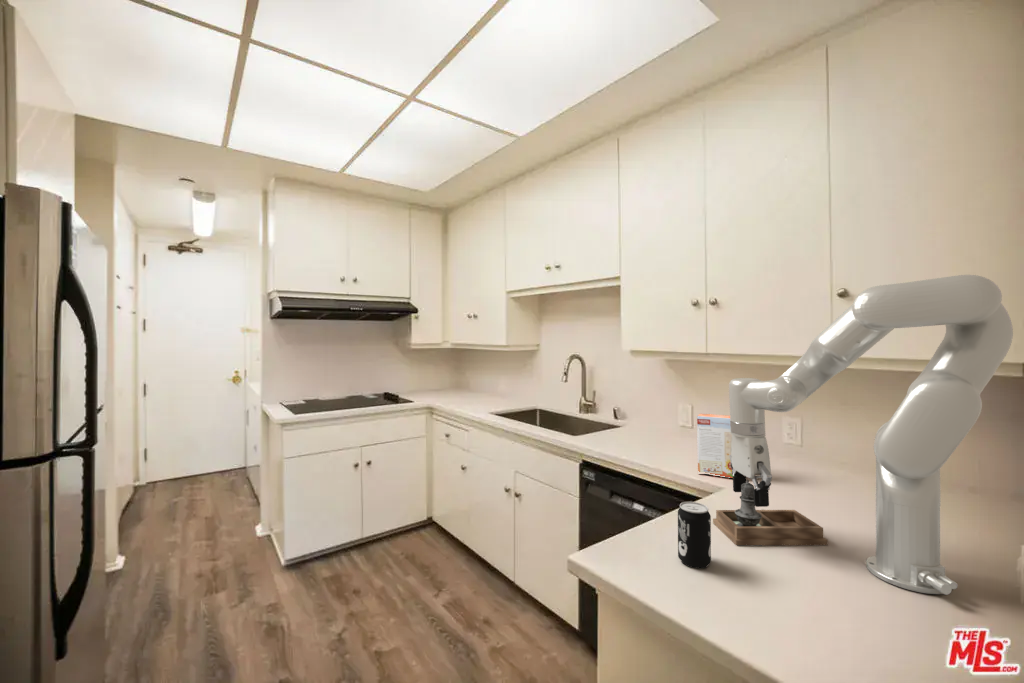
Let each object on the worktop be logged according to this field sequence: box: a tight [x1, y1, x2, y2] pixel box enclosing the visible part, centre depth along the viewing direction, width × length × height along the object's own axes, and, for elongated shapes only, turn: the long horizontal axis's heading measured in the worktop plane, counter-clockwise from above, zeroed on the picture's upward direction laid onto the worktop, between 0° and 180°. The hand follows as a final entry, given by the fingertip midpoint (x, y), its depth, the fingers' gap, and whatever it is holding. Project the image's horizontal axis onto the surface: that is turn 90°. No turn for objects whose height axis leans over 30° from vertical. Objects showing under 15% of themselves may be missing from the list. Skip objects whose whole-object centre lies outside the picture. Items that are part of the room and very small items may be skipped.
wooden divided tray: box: [712, 509, 829, 546], centre depth 105 cm, size 21×12×4 cm, turn 89°
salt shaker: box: [734, 479, 762, 526], centre depth 105 cm, size 6×6×12 cm
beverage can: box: [677, 501, 712, 569], centre depth 93 cm, size 7×7×12 cm
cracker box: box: [696, 413, 744, 478], centre depth 149 cm, size 14×6×21 cm, turn 58°
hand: (750, 498), depth 105 cm, fingers open, 9 cm apart
